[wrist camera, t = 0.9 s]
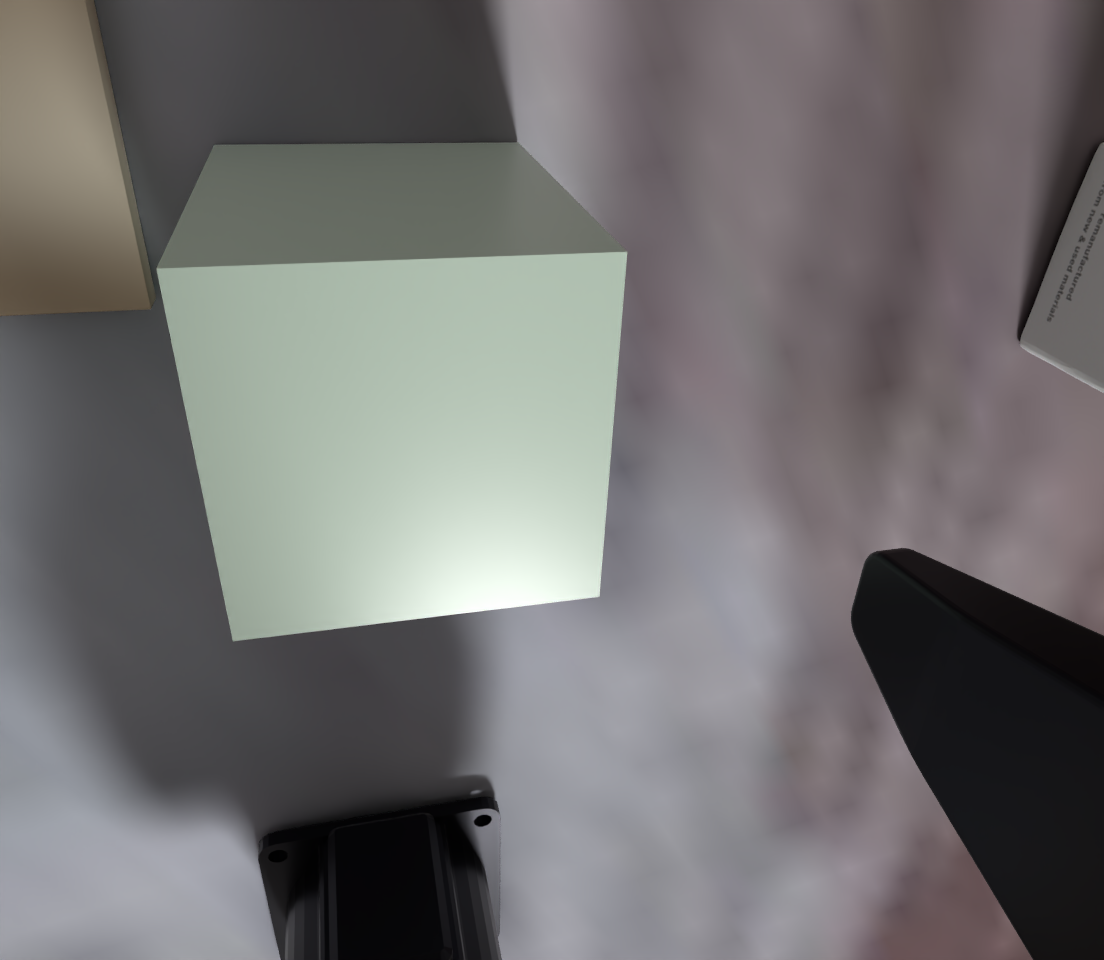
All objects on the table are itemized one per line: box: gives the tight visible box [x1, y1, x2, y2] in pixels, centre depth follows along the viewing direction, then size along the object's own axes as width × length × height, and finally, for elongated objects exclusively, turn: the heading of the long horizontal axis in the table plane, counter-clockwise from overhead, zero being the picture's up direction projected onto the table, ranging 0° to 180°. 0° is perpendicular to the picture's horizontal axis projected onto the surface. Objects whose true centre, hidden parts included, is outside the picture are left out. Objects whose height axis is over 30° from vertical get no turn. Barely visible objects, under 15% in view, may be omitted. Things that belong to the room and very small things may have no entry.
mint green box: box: [156, 142, 627, 641], centre depth 14 cm, size 5×5×7 cm
